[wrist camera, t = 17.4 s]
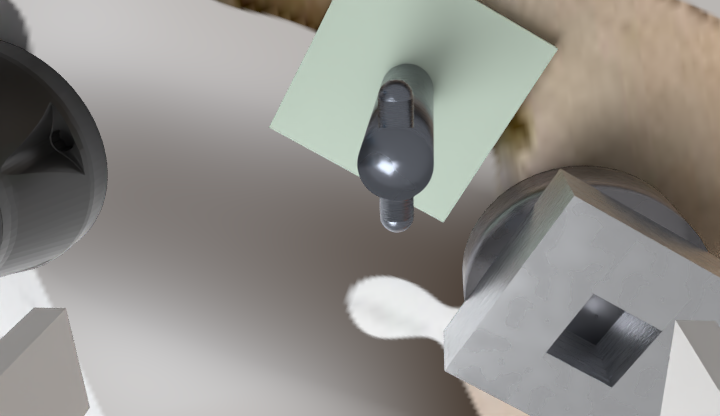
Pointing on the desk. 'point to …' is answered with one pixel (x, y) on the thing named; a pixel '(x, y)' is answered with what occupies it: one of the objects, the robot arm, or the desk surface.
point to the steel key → (399, 144)
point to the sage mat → (442, 63)
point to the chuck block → (578, 295)
